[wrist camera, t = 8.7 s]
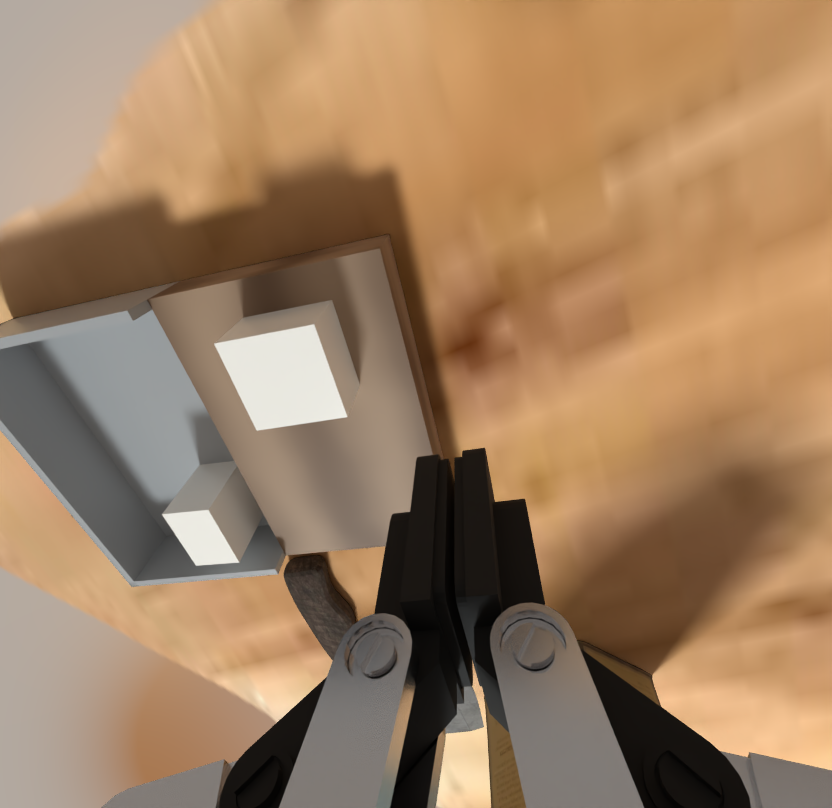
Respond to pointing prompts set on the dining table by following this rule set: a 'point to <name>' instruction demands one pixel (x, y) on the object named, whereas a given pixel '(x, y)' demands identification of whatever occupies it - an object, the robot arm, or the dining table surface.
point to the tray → (116, 432)
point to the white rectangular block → (291, 366)
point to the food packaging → (502, 760)
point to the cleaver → (348, 624)
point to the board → (324, 440)
